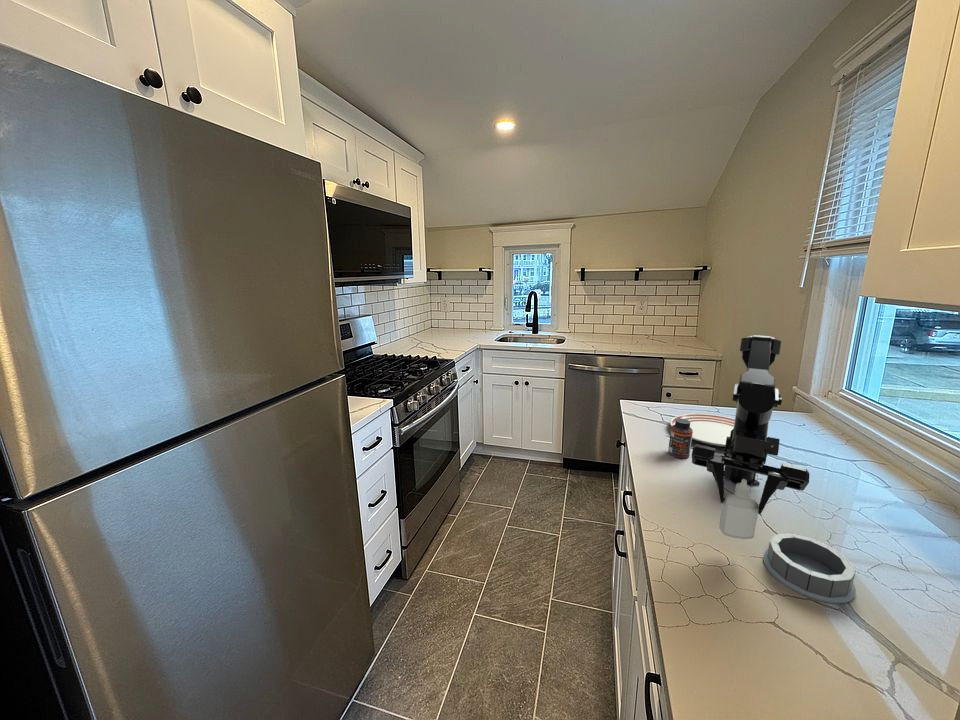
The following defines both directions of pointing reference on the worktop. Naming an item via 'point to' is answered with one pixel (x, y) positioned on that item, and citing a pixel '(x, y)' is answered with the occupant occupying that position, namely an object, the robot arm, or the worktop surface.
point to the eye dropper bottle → (739, 513)
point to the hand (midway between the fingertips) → (740, 508)
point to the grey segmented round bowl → (810, 568)
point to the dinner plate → (708, 427)
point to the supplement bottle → (680, 439)
